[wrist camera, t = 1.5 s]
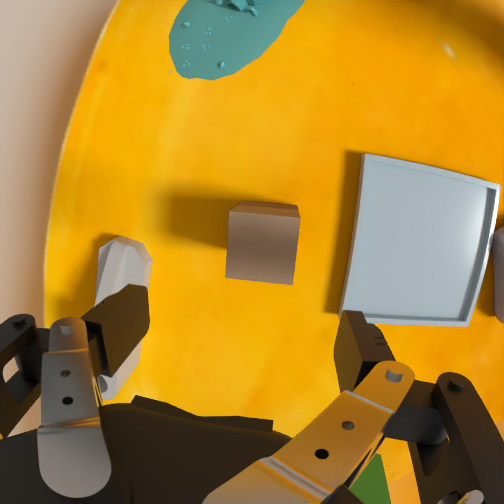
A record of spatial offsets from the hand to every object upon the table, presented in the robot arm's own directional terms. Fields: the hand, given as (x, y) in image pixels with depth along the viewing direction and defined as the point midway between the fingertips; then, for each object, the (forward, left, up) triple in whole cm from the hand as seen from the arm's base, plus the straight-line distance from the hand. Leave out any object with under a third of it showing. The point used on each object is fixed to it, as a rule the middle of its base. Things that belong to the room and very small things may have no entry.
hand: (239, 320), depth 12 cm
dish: (0, +16, -18) cm, 24 cm away
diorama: (-22, -5, -18) cm, 29 cm away
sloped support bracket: (+11, -16, -18) cm, 26 cm away
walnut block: (0, 0, -18) cm, 18 cm away
